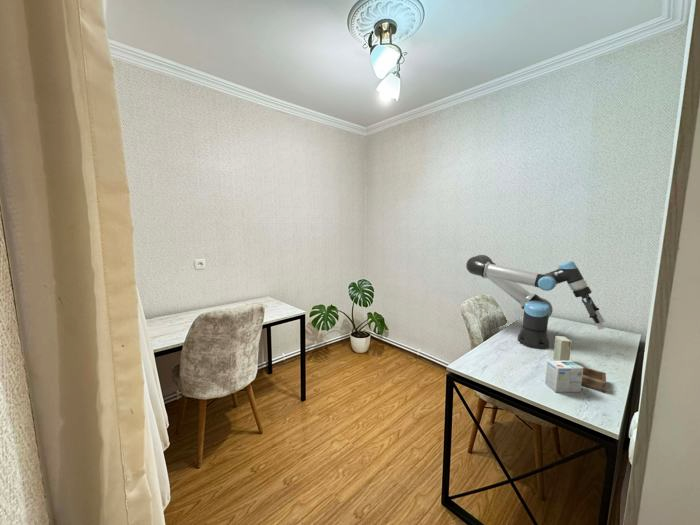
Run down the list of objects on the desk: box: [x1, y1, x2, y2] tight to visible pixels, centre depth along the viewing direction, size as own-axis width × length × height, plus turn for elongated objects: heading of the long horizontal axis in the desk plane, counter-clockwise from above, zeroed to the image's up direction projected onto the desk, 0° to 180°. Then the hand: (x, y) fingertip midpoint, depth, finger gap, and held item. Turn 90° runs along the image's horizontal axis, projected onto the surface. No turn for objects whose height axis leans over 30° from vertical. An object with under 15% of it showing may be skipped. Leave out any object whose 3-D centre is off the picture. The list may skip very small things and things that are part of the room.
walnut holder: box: [580, 365, 607, 394], centre depth 122 cm, size 11×11×4 cm
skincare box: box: [553, 335, 572, 361], centre depth 139 cm, size 6×4×12 cm
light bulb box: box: [544, 359, 584, 393], centre depth 117 cm, size 11×7×11 cm, turn 92°
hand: (601, 325), depth 149 cm, fingers open, 13 cm apart
